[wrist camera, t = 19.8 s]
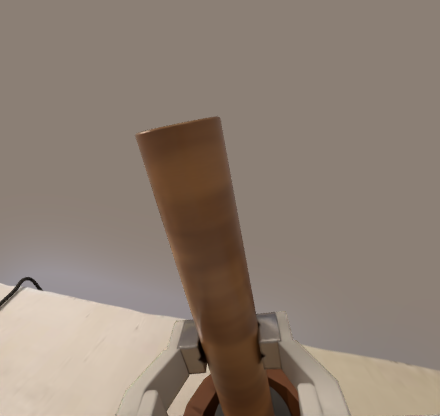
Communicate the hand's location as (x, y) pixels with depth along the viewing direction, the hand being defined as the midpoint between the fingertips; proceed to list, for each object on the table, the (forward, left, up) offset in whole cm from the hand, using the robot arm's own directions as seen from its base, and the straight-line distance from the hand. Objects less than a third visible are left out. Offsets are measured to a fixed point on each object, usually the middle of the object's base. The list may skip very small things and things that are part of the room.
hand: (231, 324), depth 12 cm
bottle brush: (+1, -1, -14) cm, 14 cm away
